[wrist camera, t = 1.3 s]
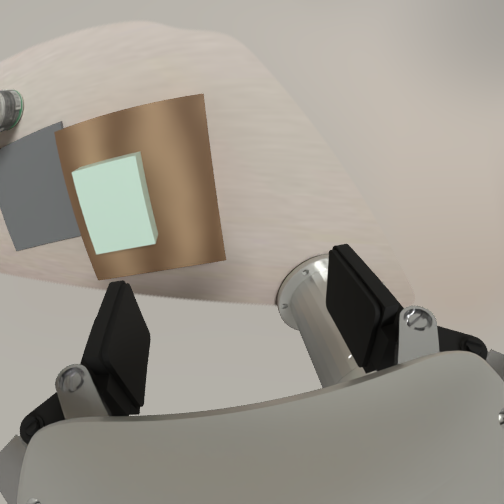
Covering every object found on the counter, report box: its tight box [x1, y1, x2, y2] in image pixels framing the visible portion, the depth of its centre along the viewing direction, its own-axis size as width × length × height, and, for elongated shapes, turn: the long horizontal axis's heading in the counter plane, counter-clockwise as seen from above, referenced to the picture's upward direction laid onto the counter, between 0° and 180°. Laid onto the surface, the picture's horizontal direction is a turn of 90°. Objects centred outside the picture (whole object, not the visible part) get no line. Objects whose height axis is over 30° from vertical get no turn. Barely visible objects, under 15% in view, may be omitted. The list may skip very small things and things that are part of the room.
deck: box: [54, 94, 226, 280], centre depth 26 cm, size 14×16×4 cm
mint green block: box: [72, 152, 158, 255], centre depth 23 cm, size 6×8×2 cm
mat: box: [0, 121, 81, 251], centre depth 25 cm, size 12×13×1 cm
